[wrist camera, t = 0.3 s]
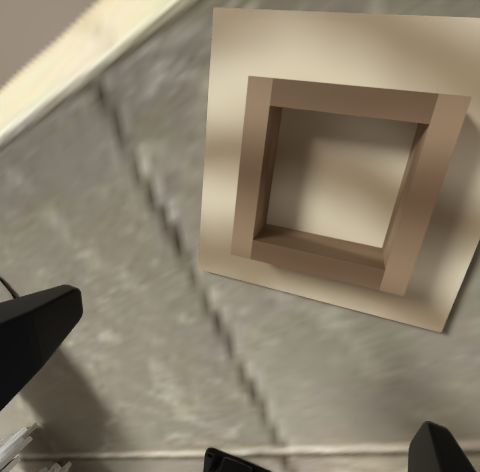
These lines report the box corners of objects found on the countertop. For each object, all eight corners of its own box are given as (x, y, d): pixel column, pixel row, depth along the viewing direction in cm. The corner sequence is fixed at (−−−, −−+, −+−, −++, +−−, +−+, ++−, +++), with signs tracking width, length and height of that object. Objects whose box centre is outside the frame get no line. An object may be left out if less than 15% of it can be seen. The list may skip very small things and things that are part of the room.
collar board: (438, 325, 21) (453, 366, 17) (202, 264, 25) (177, 288, 22) (559, 25, 15) (618, 1, 11) (219, 11, 19) (188, -10, 15)
